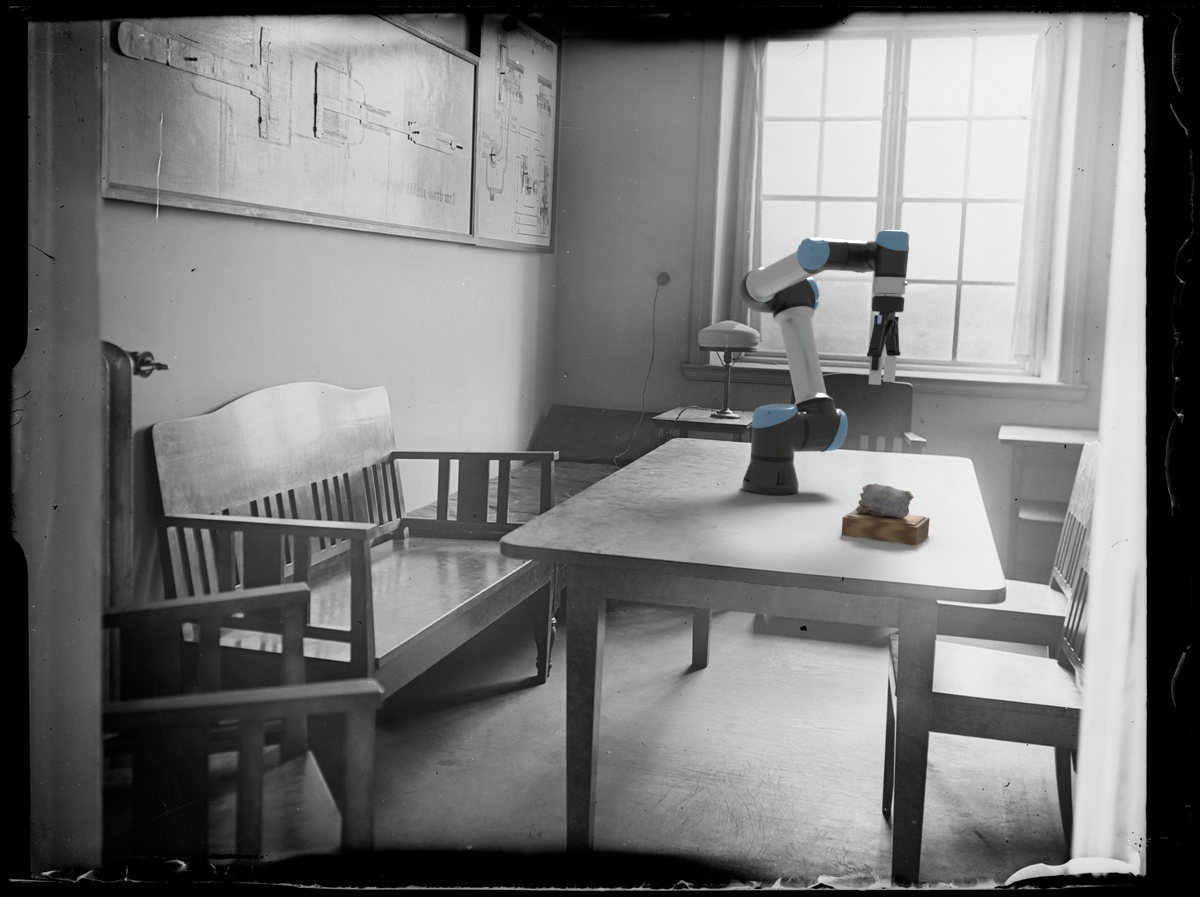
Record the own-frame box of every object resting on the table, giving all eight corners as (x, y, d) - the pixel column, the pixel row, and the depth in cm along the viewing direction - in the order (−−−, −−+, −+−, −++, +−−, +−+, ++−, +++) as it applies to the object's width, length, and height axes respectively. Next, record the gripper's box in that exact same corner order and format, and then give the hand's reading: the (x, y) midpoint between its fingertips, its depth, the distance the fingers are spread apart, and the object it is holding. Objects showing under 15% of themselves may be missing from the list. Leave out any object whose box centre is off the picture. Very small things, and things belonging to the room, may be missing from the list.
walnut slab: (841, 534, 211) (842, 515, 210) (856, 525, 221) (858, 507, 220) (915, 545, 203) (917, 526, 202) (928, 535, 213) (929, 516, 212)
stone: (905, 522, 205) (908, 490, 204) (851, 514, 212) (853, 483, 211) (916, 517, 212) (919, 486, 211) (863, 509, 218) (865, 479, 217)
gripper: (891, 294, 220) (884, 386, 223) (916, 297, 241) (909, 381, 244) (858, 293, 224) (852, 384, 227) (886, 296, 245) (879, 379, 248)
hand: (881, 383), depth 235 cm, fingers open, 13 cm apart
